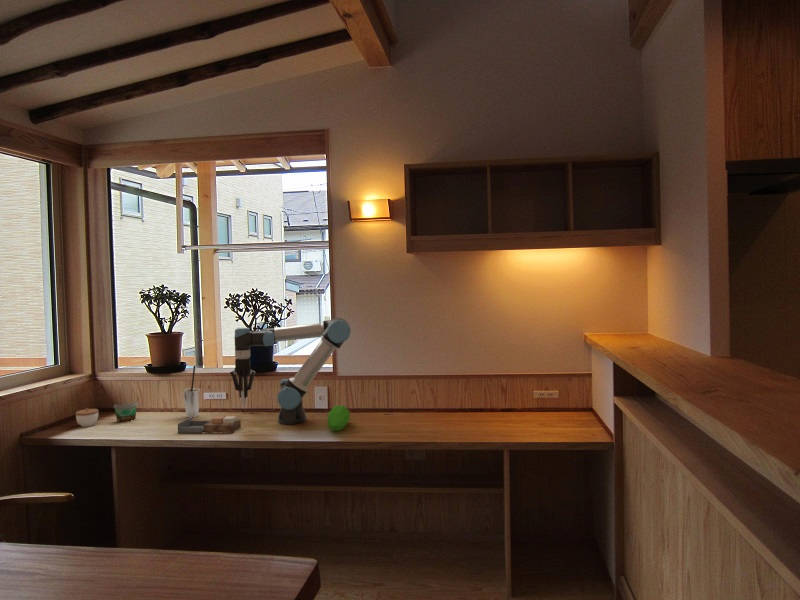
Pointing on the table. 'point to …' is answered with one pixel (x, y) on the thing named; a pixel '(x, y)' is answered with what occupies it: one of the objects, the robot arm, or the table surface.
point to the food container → (125, 411)
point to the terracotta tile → (217, 419)
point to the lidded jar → (87, 417)
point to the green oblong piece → (338, 418)
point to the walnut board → (222, 427)
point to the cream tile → (229, 419)
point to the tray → (191, 426)
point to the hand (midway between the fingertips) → (243, 403)
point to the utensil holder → (192, 399)
